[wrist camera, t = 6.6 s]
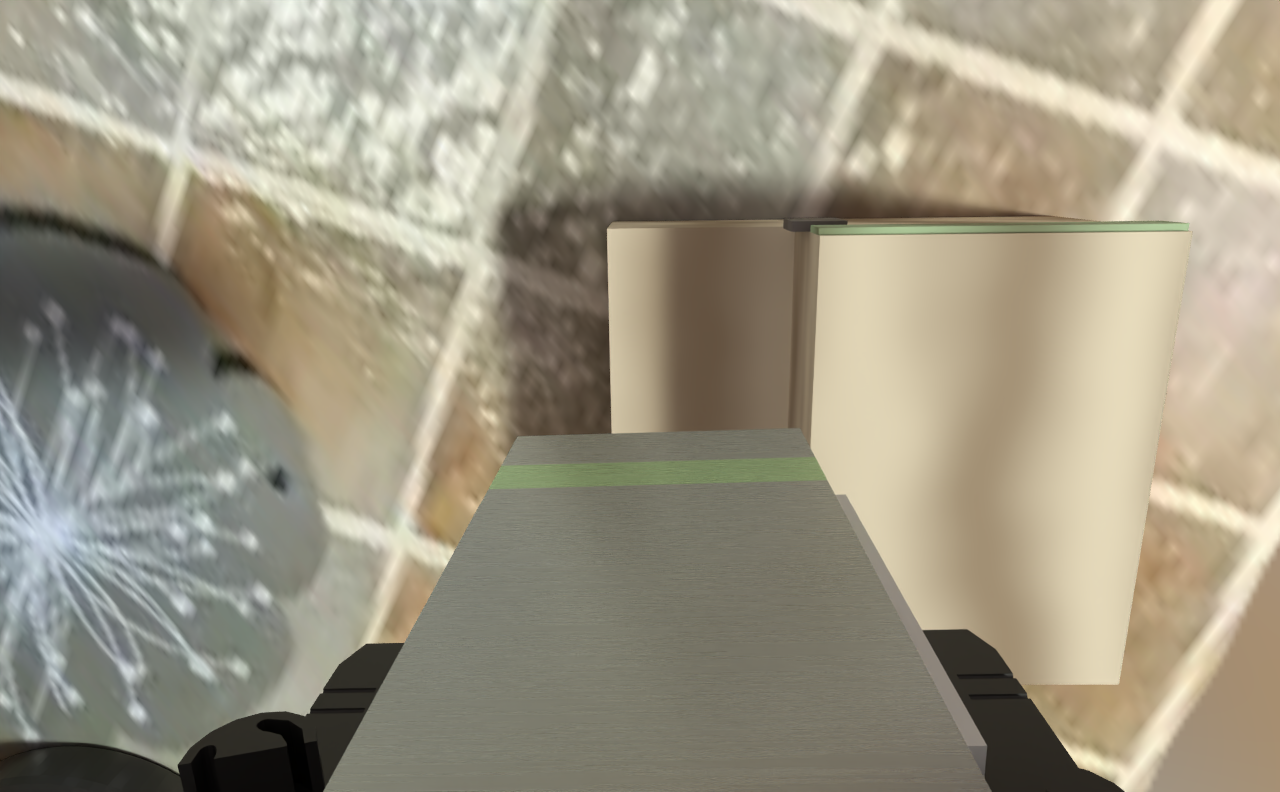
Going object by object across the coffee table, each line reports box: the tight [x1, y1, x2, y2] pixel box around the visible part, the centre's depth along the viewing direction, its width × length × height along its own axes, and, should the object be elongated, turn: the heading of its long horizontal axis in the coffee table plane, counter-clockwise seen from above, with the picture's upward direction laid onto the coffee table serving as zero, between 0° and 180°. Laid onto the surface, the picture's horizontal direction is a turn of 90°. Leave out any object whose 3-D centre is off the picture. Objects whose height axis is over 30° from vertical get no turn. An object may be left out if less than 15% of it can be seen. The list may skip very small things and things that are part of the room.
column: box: [323, 428, 992, 792], centre depth 10 cm, size 5×5×10 cm
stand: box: [607, 216, 1193, 685], centre depth 28 cm, size 16×14×8 cm
